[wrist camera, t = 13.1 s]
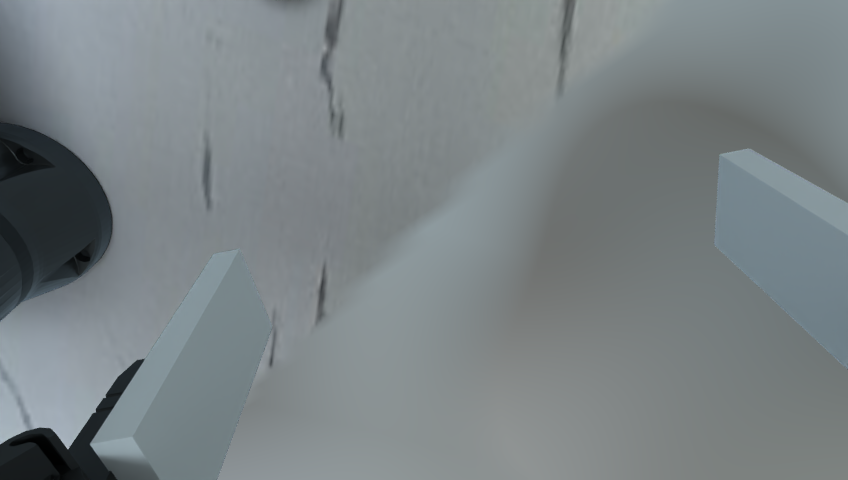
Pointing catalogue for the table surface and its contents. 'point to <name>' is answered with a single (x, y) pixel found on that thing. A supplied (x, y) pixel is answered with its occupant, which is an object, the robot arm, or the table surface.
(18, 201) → the robot arm
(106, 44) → the table surface
